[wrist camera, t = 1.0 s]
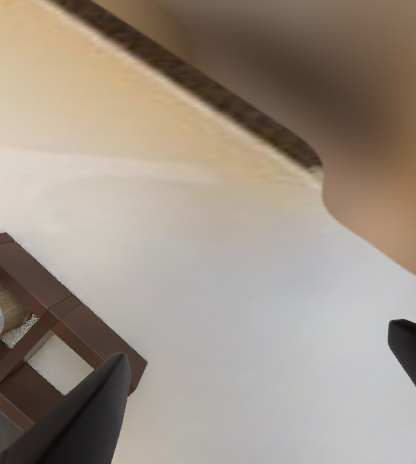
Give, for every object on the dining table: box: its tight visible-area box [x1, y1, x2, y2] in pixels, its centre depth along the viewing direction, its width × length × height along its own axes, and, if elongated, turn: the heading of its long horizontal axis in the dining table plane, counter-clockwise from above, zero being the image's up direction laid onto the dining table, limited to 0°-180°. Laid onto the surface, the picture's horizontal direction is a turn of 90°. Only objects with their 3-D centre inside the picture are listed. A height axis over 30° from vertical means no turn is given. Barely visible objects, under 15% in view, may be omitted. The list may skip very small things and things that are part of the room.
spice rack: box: [0, 233, 147, 432], centre depth 22 cm, size 18×10×4 cm, turn 46°
